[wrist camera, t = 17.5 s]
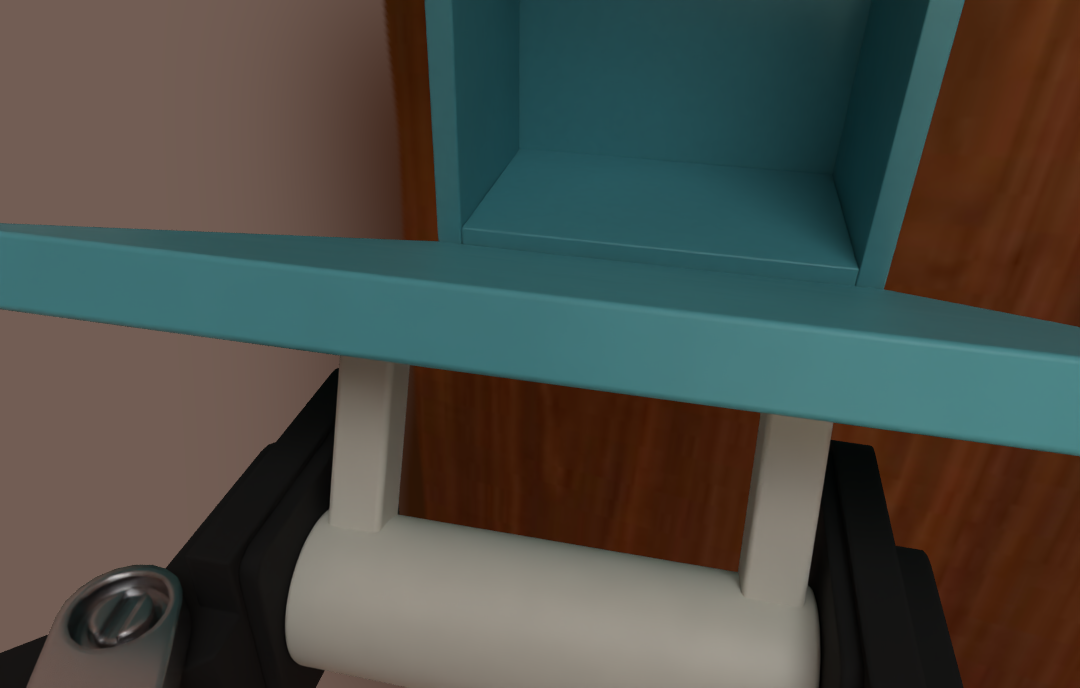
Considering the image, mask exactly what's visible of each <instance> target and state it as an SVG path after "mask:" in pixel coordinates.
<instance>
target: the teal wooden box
mask: <svg viewBox="0 0 1080 688" xmlns="http://www.w3.org/2000/svg"><path fill="white" fill-rule="evenodd" d="M964 1H965V0H425V16H426V33H427V50H428V67H429V85H430V102H431V119H432V137H433V154H434V171H435V188H436V206H437V223H438V240H439V242H446V243H455V244H464V245H474V246H483V247H492V248H502V249H511V250H520V251H530V252H539V253H548V254H557V255H567V256H576V257H585V258H595V259H604V260H613V261H622V262H632V263H641V264H650V265H660V266H669V267H678V268H688V269H697V270H706V271H715V272H725V273H734V274H743V275H753V276H762V277H771V278H780V279H790V280H799V281H808V282H818V283H827V284H836V285H846V286H855V287H864V288H873V289H883V290H884V286H885V283H886V279H887V276H888V272H889V268H890V265H891V261H892V258H893V254H894V251H895V247H896V244H897V240H898V236H899V233H900V229H901V226H902V222H903V219H904V215H905V211H906V208H907V204H908V201H909V197H910V194H911V190H912V187H913V183H914V179H915V176H916V172H917V169H918V165H919V162H920V158H921V154H922V151H923V147H924V144H925V140H926V137H927V133H928V129H929V126H930V122H931V119H932V115H933V112H934V108H935V105H936V101H937V97H938V94H939V90H940V87H941V83H942V80H943V76H944V72H945V69H946V65H947V62H948V58H949V55H950V51H951V48H952V44H953V40H954V37H955V33H956V30H957V26H958V23H959V19H960V15H961V12H962V8H963V5H964Z"/></svg>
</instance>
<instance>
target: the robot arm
mask: <svg viewBox="0 0 1080 688" xmlns="http://www.w3.org/2000/svg"><path fill="white" fill-rule="evenodd" d="M338 377H339V368H337V369H335V370H334V371H333V372H332V373H331V375H330V376H329V377H328V378H327V380H326V381H325V382H324V383H323V384H322V386H321V387H320V388H319V389H318V391H317V392H316V393H315V394H314V396H313V397H312V398H311V400H310V401H309V402H308V403H307V404H306V406H305V407H304V408H303V409H302V411H301V412H300V413H299V414H298V416H297V417H296V418H295V419H294V420H293V422H292V423H291V424H290V425H289V427H288V428H287V429H286V430H285V432H284V433H283V434H282V435H281V437H280V438H279V439H278V440H277V442H275V443H272V444H269V445H268V446H267V447H266V448H264V449H263V450H262V451H261V452H260V454H259V455H258V456H257V457H256V459H255V460H254V461H253V462H252V463H251V465H250V466H249V467H248V468H247V470H246V471H245V472H244V473H243V474H242V476H241V477H240V478H239V479H238V481H237V482H236V483H235V484H234V485H233V487H232V488H231V489H230V490H229V492H228V493H227V494H226V495H225V496H224V498H223V499H222V500H221V501H220V503H219V504H218V505H217V506H216V507H215V509H214V510H213V511H212V512H211V514H210V515H209V516H208V517H207V519H206V520H205V521H204V522H203V523H202V525H201V526H200V527H199V528H198V529H197V531H196V532H195V533H194V534H193V536H192V537H191V538H190V540H188V542H187V543H186V544H185V545H184V547H183V548H182V549H181V550H180V551H179V553H178V554H177V555H176V556H175V558H174V559H173V560H172V561H171V562H170V564H169V565H168V566H167V567H166V569H165V568H161V567H158V566H154V565H132V566H127V567H123V568H118V569H114V570H112V571H110V572H107V573H105V574H102V575H100V576H97V577H96V578H94V579H92V580H91V581H89V582H88V583H86V584H85V585H83V586H82V587H80V588H79V589H78V590H77V591H76V592H75V593H74V594H73V595H71V596H70V598H69V599H67V600H66V601H65V603H64V604H63V606H62V607H61V609H60V611H59V612H58V614H57V616H56V617H55V620H54V622H53V625H52V627H51V629H50V632H49V634H48V635H46V636H43V637H41V638H38V639H36V640H33V641H31V642H28V643H25V644H23V645H20V646H17V647H15V648H12V649H10V650H7V651H4V652H2V653H0V688H316V686H317V684H318V682H319V680H320V678H321V676H322V675H323V673H324V671H325V670H321V669H317V668H312V667H307V666H302V665H299V664H298V663H297V662H295V661H294V660H293V659H292V657H291V656H290V653H289V651H288V648H287V644H286V637H285V615H286V605H287V599H288V593H289V588H290V584H291V580H292V576H293V572H294V569H295V566H296V563H297V560H298V558H299V555H300V552H301V550H302V548H303V545H304V543H305V541H306V539H307V537H308V535H309V533H310V532H311V530H312V528H313V527H314V525H315V524H316V522H317V521H318V520H319V518H320V517H321V516H322V515H323V514H324V513H325V512H326V511H328V510H329V506H330V492H331V477H332V463H333V449H334V434H335V420H336V406H337V392H338ZM398 515H399V504H398ZM808 586H809V587H810V588H811V589H812V591H813V593H814V596H815V599H816V603H817V608H818V615H819V624H820V644H821V660H820V683H819V688H963V684H962V680H961V677H960V673H959V669H958V665H957V662H956V658H955V654H954V650H953V647H952V643H951V639H950V635H949V631H948V628H947V624H946V620H945V616H944V613H943V609H942V605H941V601H940V598H939V594H938V590H937V586H936V582H935V579H934V575H933V571H932V567H931V564H930V561H929V559H928V556H927V555H926V553H925V552H924V551H923V550H918V549H912V548H906V547H900V546H895V542H894V537H893V533H892V528H891V524H890V519H889V515H888V510H887V506H886V501H885V496H884V492H883V487H882V483H881V478H880V474H879V469H878V465H877V460H876V456H875V452H874V449H873V447H872V446H869V445H862V444H855V443H848V442H842V441H835V440H830V446H829V453H828V459H827V465H826V472H825V478H824V484H823V491H822V497H821V504H820V510H819V516H818V523H817V529H816V536H815V542H814V548H813V555H812V561H811V568H810V574H809V580H808Z"/></svg>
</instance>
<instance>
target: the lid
mask: <svg viewBox="0 0 1080 688" xmlns="http://www.w3.org/2000/svg"><path fill="white" fill-rule="evenodd" d="M0 309H2V310H9V311H17V312H25V313H32V314H39V315H47V316H53V317H61V318H68V319H75V320H83V321H90V322H98V323H105V324H113V325H120V326H127V327H135V328H142V329H150V330H157V331H164V332H171V333H178V334H186V335H193V336H201V337H209V338H215V339H223V340H230V341H238V342H245V343H252V344H260V345H267V346H274V347H281V348H289V349H296V350H303V351H311V352H318V353H326V354H333V355H340V363H339V377H338V392H337V406H336V420H335V434H334V449H333V463H332V477H331V492H330V506H329V510H328V511H326V512H325V513H324V514H323V515H322V516H321V517H320V518H319V520H318V521H317V522H316V524H315V525H314V527H313V528H312V530H311V532H310V533H309V535H308V537H307V539H306V541H305V543H304V545H303V548H302V550H301V552H300V555H299V558H298V560H297V563H296V566H295V569H294V572H293V576H292V580H291V584H290V588H289V593H288V599H287V605H286V615H285V637H286V644H287V648H288V651H289V653H290V656H291V657H292V659H293V660H294V661H295V662H297V663H298V664H299V665H302V666H307V667H312V668H317V669H321V670H327V671H331V672H336V673H341V674H346V675H350V676H355V677H360V678H365V679H369V680H374V681H379V682H384V683H389V684H393V685H398V686H403V687H408V688H819V683H820V660H821V644H820V624H819V615H818V608H817V603H816V599H815V596H814V593H813V591H812V589H811V588H810V587H809V586H808V580H809V574H810V568H811V561H812V555H813V548H814V542H815V536H816V529H817V523H818V516H819V510H820V504H821V497H822V491H823V484H824V478H825V472H826V465H827V459H828V453H829V446H830V440H831V433H832V427H833V423H840V424H848V425H855V426H862V427H870V428H877V429H885V430H892V431H899V432H907V433H914V434H921V435H929V436H936V437H943V438H951V439H958V440H965V441H973V442H980V443H988V444H995V445H1002V446H1010V447H1017V448H1024V449H1032V450H1039V451H1046V452H1054V453H1061V454H1068V455H1076V456H1080V327H1076V326H1071V325H1066V324H1060V323H1055V322H1050V321H1045V320H1040V319H1034V318H1029V317H1024V316H1019V315H1014V314H1008V313H1003V312H998V311H993V310H988V309H982V308H977V307H972V306H967V305H962V304H956V303H951V302H946V301H941V300H936V299H930V298H925V297H920V296H915V295H910V294H904V293H899V292H894V291H889V290H883V289H873V288H864V287H855V286H846V285H836V284H827V283H818V282H808V281H799V280H790V279H780V278H771V277H762V276H753V275H743V274H734V273H725V272H715V271H706V270H697V269H688V268H678V267H669V266H660V265H650V264H641V263H632V262H622V261H613V260H604V259H595V258H585V257H576V256H567V255H557V254H548V253H539V252H530V251H520V250H511V249H502V248H492V247H483V246H474V245H464V244H455V243H446V242H437V241H413V240H387V239H364V238H341V237H317V236H293V235H270V234H269V235H267V234H245V233H221V232H196V231H172V230H149V229H125V228H101V227H78V226H54V225H30V224H4V223H0ZM410 365H414V366H421V367H429V368H436V369H443V370H451V371H458V372H465V373H473V374H480V375H487V376H495V377H502V378H509V379H517V380H524V381H531V382H539V383H546V384H554V385H561V386H568V387H576V388H583V389H590V390H598V391H605V392H612V393H620V394H627V395H634V396H642V397H649V398H657V399H664V400H671V401H679V402H686V403H693V404H701V405H708V406H715V407H723V408H730V409H737V410H745V411H752V412H760V413H761V416H760V423H759V430H758V436H757V443H756V450H755V457H754V464H753V471H752V478H751V485H750V492H749V499H748V506H747V513H746V520H745V527H744V534H743V541H742V548H741V555H740V562H739V569H738V572H733V571H727V570H721V569H715V568H709V567H703V566H697V565H691V564H685V563H680V562H674V561H668V560H662V559H656V558H650V557H644V556H638V555H633V554H627V553H621V552H615V551H609V550H603V549H597V548H591V547H585V546H580V545H574V544H568V543H562V542H556V541H550V540H544V539H538V538H533V537H527V536H521V535H515V534H509V533H503V532H497V531H491V530H485V529H480V528H474V527H468V526H462V525H456V524H450V523H444V522H438V521H433V520H427V519H421V518H415V517H409V516H403V515H398V503H399V490H400V478H401V465H402V454H403V442H404V429H405V417H406V405H407V393H408V380H409V368H410Z"/></svg>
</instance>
